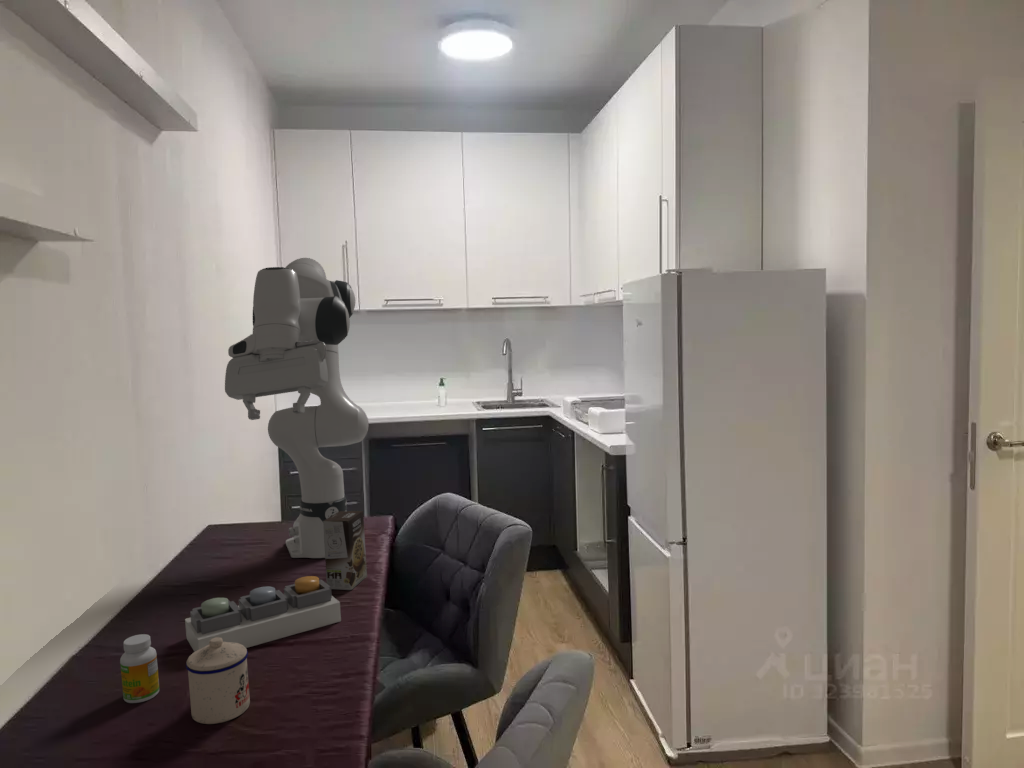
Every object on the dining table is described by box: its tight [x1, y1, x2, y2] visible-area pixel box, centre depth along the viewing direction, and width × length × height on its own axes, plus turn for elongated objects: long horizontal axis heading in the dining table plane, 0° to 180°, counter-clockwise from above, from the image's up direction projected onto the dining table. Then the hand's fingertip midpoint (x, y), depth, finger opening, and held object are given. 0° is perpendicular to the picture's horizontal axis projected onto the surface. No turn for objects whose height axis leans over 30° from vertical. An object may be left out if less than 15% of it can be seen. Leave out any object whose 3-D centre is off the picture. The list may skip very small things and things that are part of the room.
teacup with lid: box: [185, 637, 251, 725], centre depth 116 cm, size 12×9×12 cm
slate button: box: [249, 586, 276, 605], centre depth 144 cm, size 5×5×2 cm
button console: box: [184, 579, 342, 653], centre depth 144 cm, size 12×27×6 cm, turn 125°
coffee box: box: [323, 510, 368, 591], centre depth 168 cm, size 9×6×16 cm
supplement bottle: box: [119, 633, 160, 704], centre depth 120 cm, size 5×5×10 cm
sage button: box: [200, 597, 229, 618], centre depth 139 cm, size 5×5×2 cm
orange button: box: [294, 575, 320, 594], centre depth 149 cm, size 5×5×2 cm
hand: (276, 416), depth 136 cm, fingers open, 8 cm apart
